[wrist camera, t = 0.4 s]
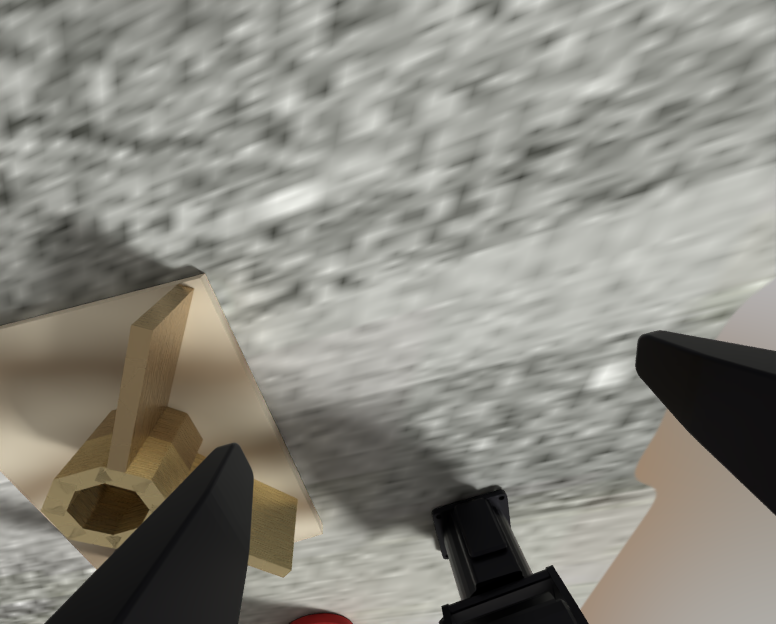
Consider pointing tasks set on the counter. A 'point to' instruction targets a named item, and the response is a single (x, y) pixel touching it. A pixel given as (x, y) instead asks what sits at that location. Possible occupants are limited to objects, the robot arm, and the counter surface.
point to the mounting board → (102, 387)
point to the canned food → (322, 619)
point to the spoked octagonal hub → (153, 453)
